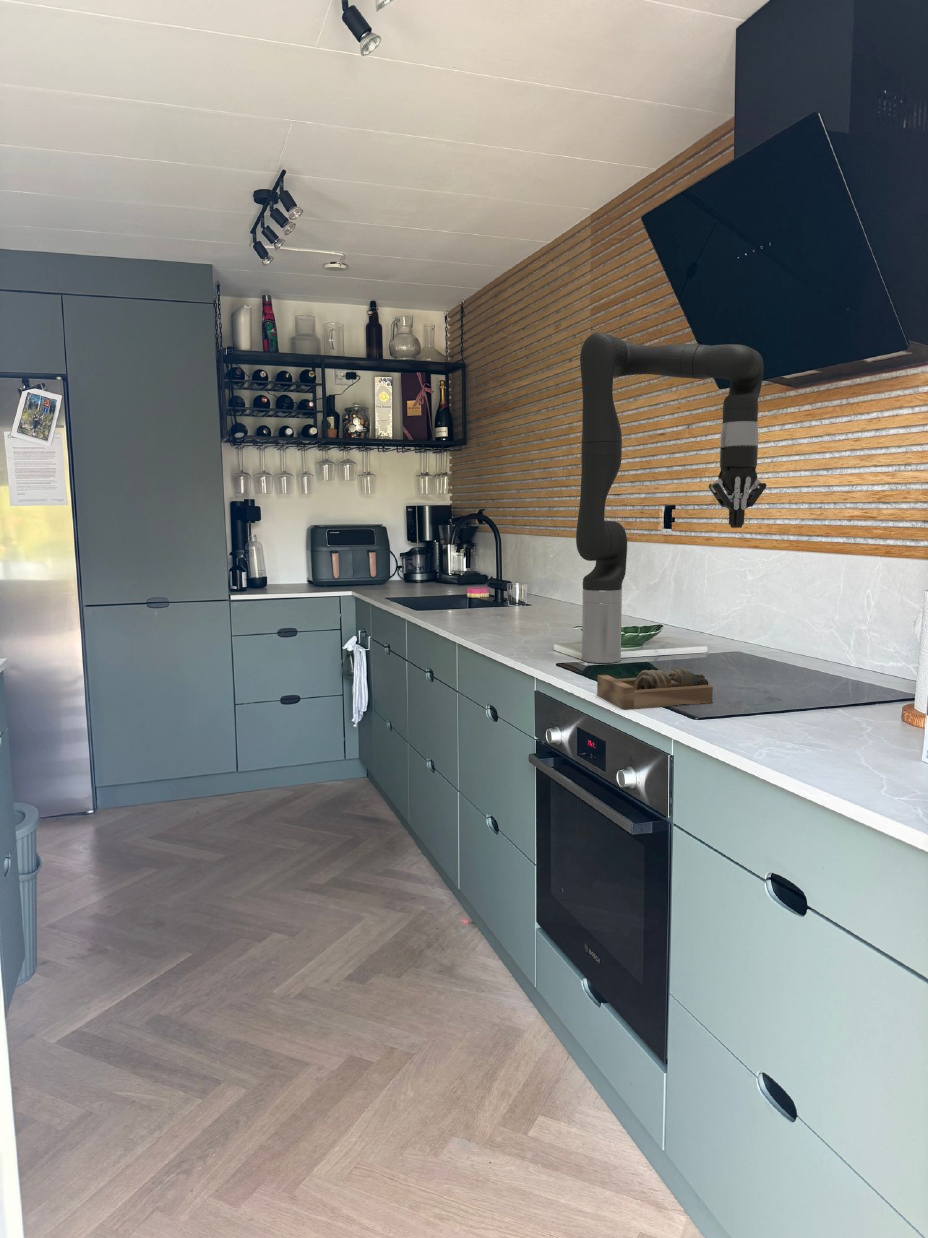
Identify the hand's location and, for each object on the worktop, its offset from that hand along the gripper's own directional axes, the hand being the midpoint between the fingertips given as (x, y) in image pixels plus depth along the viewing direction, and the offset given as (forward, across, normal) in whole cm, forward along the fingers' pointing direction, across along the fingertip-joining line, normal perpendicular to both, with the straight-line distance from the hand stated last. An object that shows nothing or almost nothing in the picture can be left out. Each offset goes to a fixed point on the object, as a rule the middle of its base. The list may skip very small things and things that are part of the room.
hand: (736, 527), depth 175 cm
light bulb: (+29, +16, +17) cm, 37 cm away
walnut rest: (+32, +26, +16) cm, 44 cm away
